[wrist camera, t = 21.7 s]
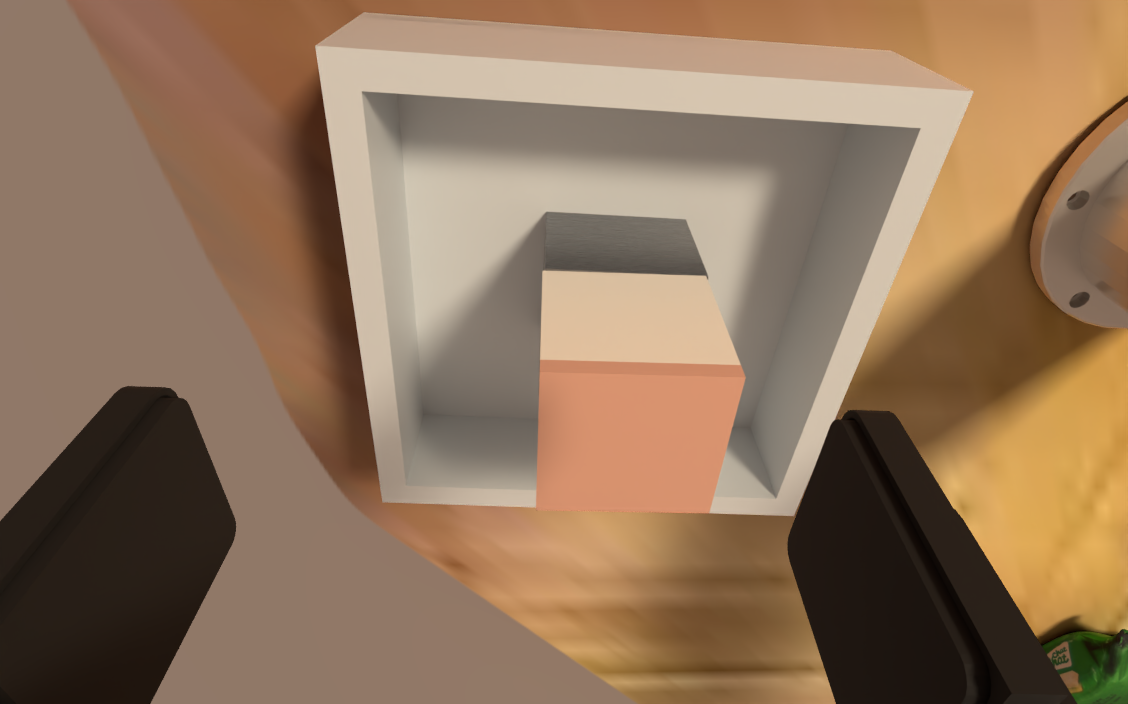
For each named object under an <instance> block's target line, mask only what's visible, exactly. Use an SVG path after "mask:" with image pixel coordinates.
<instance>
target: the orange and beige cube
mask: <svg viewBox="0 0 1128 704" xmlns="http://www.w3.org/2000/svg"><path fill="white" fill-rule="evenodd" d="M745 379H746V377H745V374H744V372H743V369H742V367H741V364H740V361H739V359H738V356H737V354H736V351H735V349H734V346H733V344H732V341H731V338H730V336H729V333H728V331H727V328H726V326H725V323H724V320H723V318H722V315H721V313H720V310H719V308H718V305H717V303H716V300H715V297H714V295H713V292H712V290H711V287H710V285H709V282H708V279H707V277H706V276H696V275H665V274H634V273H603V272H572V271H542V305H541V340H540V376H539V412H538V449H537V486H536V510H555V511H609V512H664V513H709V512H710V508H711V505H712V501H713V497H714V494H715V490H716V486H717V483H718V479H719V475H720V471H721V468H722V464H723V460H724V457H725V453H726V449H727V445H728V442H729V438H730V434H731V431H732V427H733V423H734V419H735V416H736V412H737V408H738V405H739V401H740V397H741V394H742V390H743V386H744V382H745Z"/></svg>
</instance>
